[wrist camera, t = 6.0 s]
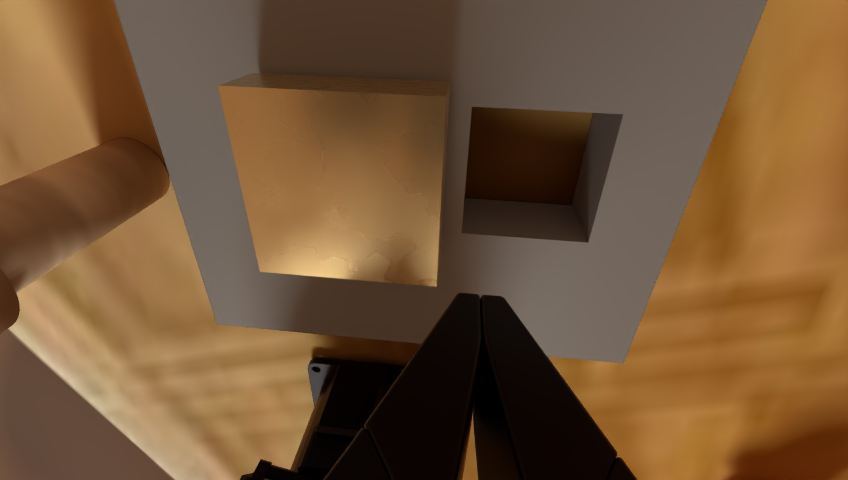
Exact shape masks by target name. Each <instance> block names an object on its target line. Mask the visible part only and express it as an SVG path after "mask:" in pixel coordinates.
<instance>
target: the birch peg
mask: <svg viewBox="0 0 848 480" xmlns="http://www.w3.org/2000/svg"><path fill="white" fill-rule="evenodd" d="M168 188H169V176H168V172H167V170H166V167H165V165H164V164H163V162H162V161H161V159H160V158H159V157H158V156H157V155H156V153H155V152H153V151H152V150H151V149H150V148H149V147H147V146H146V145H144V144H142V143H140V142H138V141H136V140H133V139H129V138H117V139H114V140H111V141H109V142H106V143H104V144H101V145H99V146H97V147H94V148H92V149H89V150H87V151H84V152H82V153H79V154H77V155H75V156H72V157H70V158H67V159H65V160H62V161H60V162H58V163H55V164H53V165H50V166H48V167H45V168H43V169H41V170H38V171H36V172H33V173H31V174H28V175H26V176H23V177H21V178H19V179H16V180H14V181H11V182H9V183H6V184H4V185H2V186H0V334H1V333H2V332H4V331H5V330H6V329H8V328H9V327H10V326H12V325H13V324H14V323H15V322H16V320H17V318H18V316H19V311H20V309H19V301H18V297H17V294H16V293H17V292H19V291H20V290H22V289H23V288H25V287H26V286H28V285H29V284H31V283H32V282H34V281H35V280H37V279H38V278H40V277H41V276H43V275H44V274H46V273H47V272H49V271H50V270H52V269H53V268H55V267H57V266H58V265H60V264H61V263H63V262H64V261H66V260H67V259H69V258H70V257H72V256H73V255H75V254H76V253H78V252H79V251H81V250H82V249H84V248H85V247H87V246H88V245H90V244H91V243H93V242H95V241H96V240H98V239H99V238H101V237H102V236H104V235H105V234H107V233H108V232H110V231H111V230H113V229H114V228H116V227H117V226H119V225H120V224H122V223H123V222H125V221H126V220H128V219H129V218H131V217H133V216H134V215H136V214H137V213H139V212H140V211H142V210H143V209H145V208H146V207H148V206H149V205H151V204H152V203H154V202H155V201H157V200H158V199H160V198H161V197H163V196H164V195H165V194H166V192H167V190H168Z"/></svg>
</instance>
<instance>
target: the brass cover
mask: <svg viewBox="0 0 848 480" xmlns="http://www.w3.org/2000/svg"><path fill="white" fill-rule="evenodd" d="M218 88H219V93H220V97H221V102H222V106H223V110H224V115H225V119H226V124H227V128H228V133H229V137H230V142H231V146H232V150H233V155H234V159H235V164H236V168H237V173H238V177H239V181H240V186H241V190H242V195H243V199H244V204H245V208H246V212H247V217H248V221H249V226H250V230H251V235H252V239H253V244H254V248H255V252H256V257H257V261H258V266H259V270H260V272H269V273H281V274H293V275H304V276H316V277H328V278H340V279H352V280H363V281H375V282H387V283H399V284H410V285H422V286H434V287H437V280H438V272H439V265H440V257H441V244H442V225H443V207H444V189H445V170H446V152H447V134H448V115H449V97H450V82H445V81H423V80H401V79H379V78H357V77H335V76H314V75H292V74H270V73H251V74H248V75H245V76H243V77H240V78H237V79H235V80H232V81H229V82H226V83H224V84H221V85H218Z"/></svg>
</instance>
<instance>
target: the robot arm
mask: <svg viewBox="0 0 848 480" xmlns="http://www.w3.org/2000/svg"><path fill="white" fill-rule="evenodd" d="M308 373H309V379H310V384H311V390H312V396H313V401H314V410H313V412H312V415H311V417H310V420H309V422H308V425H307V428H306V430H305V433H304V435H303V438H302V441H301V443H300V446H299V448H298V451H297V454H296V456H295V459H294V461H293V464H292V466H291V469H290V470H288V469H285V468H281V467H278V466H275V465H272V462H269V461H266V460H262V459H261V460H260V462H259V464H258V466H257V468H256V469H255V471H254V472H253V473H251V474H246V475H242V477H241V479H240V480H462V478H463V472H464V466H465V460H466V453H467V447H468V441H469V435H470V428H471V421H472V414H473V421H474V436H475V447H476V459H477V470H478V480H637V479H636V477H635V476H634V475H633V473H632V472H631V470H630V469H629V468H628V466H627V465H626V464H625V462H624V461H623V459H622V458H620V457H617V452H616V450H615V449H614V447H613V446H612V445H611V443H610V442H609V441H608V439H607V438H606V436H605V435H604V434H603V432H602V431H601V430H600V428H599V427H598V425H597V424H596V423H595V421H594V420H593V419H592V417H591V416H590V414H589V413H588V412H587V410H586V409H585V408H584V406H583V405H582V404H581V402H580V401H579V399H578V398H577V397H576V395H575V394H574V393H573V391H572V390H571V388H570V387H569V386H568V384H567V383H566V382H565V380H564V379H563V377H562V376H561V375H560V373H559V372H558V371H557V369H556V368H555V366H554V365H553V364H552V362H551V361H550V360H549V358H548V357H547V356H546V354H545V353H544V351H543V350H542V349H541V347H540V346H539V345H538V343H537V342H536V340H535V339H534V338H533V336H532V335H531V334H530V332H529V331H528V329H527V328H526V327H525V325H524V324H523V323H522V321H521V320H520V318H519V317H518V316H517V314H516V313H515V312H514V310H513V309H512V308H511V306H510V305H509V303H508V302H507V301H506V299H505V298H504V297H502V296H494V295H482V296H481V298H480V296H479V295H478V294H471V293H458V294H457V295H456V296H455V297H454V298H453V300H452V301H451V303H450V304H449V306H448V307H447V308H446V310H445V311H444V313H443V314H442V315H441V317H440V318H439V320H438V321H437V322H436V324H435V325H434V327H433V328H432V330H431V331H430V332H429V334H428V335H427V337H426V338H425V339H424V341H423V342H422V344H421V345H420V346H419V348H418V349H417V351H416V352H415V353H414V355H413V356H412V358H411V359H410V361H409V362H408V363H407V365H406V366H405V367H402V366H392V365H382V364H372V363H362V362H352V361H342V360H332V359H323V358H314V359H312V360H311V361H310V363H309V365H308ZM616 457H617V458H616Z"/></svg>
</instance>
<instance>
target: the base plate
mask: <svg viewBox="0 0 848 480" xmlns="http://www.w3.org/2000/svg"><path fill="white" fill-rule="evenodd" d="M114 3H115V6H116V9H117V12H118V15H119V18H120V22H121V25H122V28H123V31H124V34H125V37H126V40H127V44H128V47H129V50H130V53H131V56H132V59H133V62H134V66H135V69H136V72H137V75H138V78H139V81H140V84H141V88H142V91H143V94H144V97H145V100H146V103H147V106H148V110H149V113H150V116H151V119H152V122H153V125H154V128H155V132H156V135H157V138H158V141H159V144H160V147H161V150H162V154H163V157H164V160H165V163H166V166H167V169H168V172H169V176H170V179H171V182H172V185H173V188H174V191H175V194H176V198H177V201H178V204H179V207H180V210H181V213H182V216H183V219H184V223H185V226H186V229H187V232H188V235H189V238H190V241H191V245H192V248H193V251H194V254H195V257H196V260H197V263H198V267H199V270H200V273H201V276H202V279H203V282H204V285H205V289H206V292H207V295H208V298H209V301H210V304H211V307H212V311H213V314H214V317H215V320H216V323H217V324H219V325H229V326H240V327H250V328H261V329H271V330H281V331H292V332H302V333H313V334H323V335H334V336H344V337H354V338H365V339H375V340H386V341H396V342H406V343H417V344H422V342H423V341H424V339H425V338H426V337H427V335H428V334H429V332H430V331H431V330H432V328H433V327H434V325H435V324H436V322H437V321H438V320H439V318H440V317H441V315H442V314H443V313H444V311H445V310H446V308H447V307H448V306H449V304H450V303H451V301H452V300H453V298H454V297H455V296H456V295H457V294H458V293H471V294H478V295H479V296H480V298H481V296H482V295H494V296H502V297H504V298H505V299H506V301H507V302H508V303H509V305H510V306H511V308H512V309H513V310H514V312H515V313H516V314H517V316H518V317H519V318H520V320H521V321H522V323H523V324H524V325H525V327H526V328H527V329H528V331H529V332H530V334H531V335H532V336H533V338H534V339H535V340H536V342H537V343H538V345H539V346H540V347H541V349H542V350H543V351H544V353H545V354H546V356H552V357H562V358H573V359H583V360H594V361H604V362H614V363H624V361H625V358H626V356H627V353H628V351H629V348H630V346H631V343H632V341H633V338H634V336H635V333H636V331H637V328H638V326H639V323H640V321H641V318H642V316H643V313H644V311H645V308H646V305H647V303H648V300H649V298H650V295H651V293H652V290H653V288H654V285H655V283H656V280H657V278H658V275H659V273H660V270H661V268H662V265H663V263H664V260H665V258H666V255H667V252H668V250H669V247H670V245H671V242H672V240H673V237H674V235H675V232H676V230H677V227H678V225H679V222H680V220H681V217H682V215H683V212H684V210H685V207H686V205H687V202H688V199H689V197H690V194H691V192H692V189H693V187H694V184H695V182H696V179H697V177H698V174H699V172H700V169H701V167H702V164H703V162H704V159H705V157H706V154H707V152H708V149H709V146H710V144H711V141H712V139H713V136H714V134H715V131H716V129H717V126H718V124H719V121H720V119H721V116H722V114H723V111H724V109H725V106H726V104H727V101H728V99H729V96H730V94H731V91H732V88H733V86H734V83H735V81H736V78H737V76H738V73H739V71H740V68H741V66H742V63H743V61H744V58H745V56H746V53H747V51H748V48H749V46H750V43H751V41H752V38H753V35H754V33H755V30H756V28H757V25H758V23H759V20H760V18H761V15H762V13H763V10H764V8H765V5H766V3H767V0H114ZM251 73H270V74H292V75H314V76H335V77H357V78H379V79H401V80H423V81H445V82H450V97H449V115H448V134H447V152H446V170H445V189H444V207H443V225H442V244H441V257H440V265H439V272H438V280H437V287H434V286H422V285H410V284H399V283H387V282H375V281H363V280H352V279H340V278H328V277H316V276H304V275H293V274H281V273H269V272H260V270H259V266H258V261H257V257H256V252H255V248H254V244H253V239H252V235H251V230H250V226H249V221H248V217H247V212H246V208H245V204H244V199H243V195H242V190H241V186H240V181H239V177H238V173H237V168H236V164H235V159H234V155H233V150H232V146H231V142H230V137H229V133H228V128H227V124H226V119H225V115H224V110H223V106H222V102H221V97H220V93H219V88H218V85H221V84H224V83H226V82H229V81H232V80H235V79H237V78H240V77H243V76H245V75H248V74H251ZM472 107H488V108H508V109H527V110H547V111H567V112H587V113H593V116H592V120H591V125H590V129H589V133H588V137H587V142H586V146H585V150H584V154H583V159H582V163H581V167H580V171H579V176H578V180H577V184H576V189H575V193H574V197H573V201H572V205H561V204H546V203H531V202H516V201H501V200H487V199H472V198H464V197H465V185H466V173H467V161H468V149H469V137H470V125H471V113H472Z"/></svg>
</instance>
